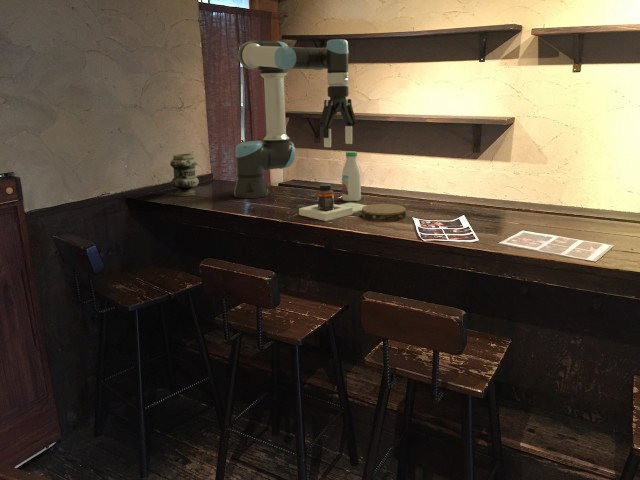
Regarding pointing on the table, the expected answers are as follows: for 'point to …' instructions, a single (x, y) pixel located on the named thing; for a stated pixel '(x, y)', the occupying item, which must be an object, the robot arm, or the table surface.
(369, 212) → the tambourine
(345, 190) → the milk bottle
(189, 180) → the apothecary jar
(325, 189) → the supplement bottle
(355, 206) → the tile
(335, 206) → the collar
